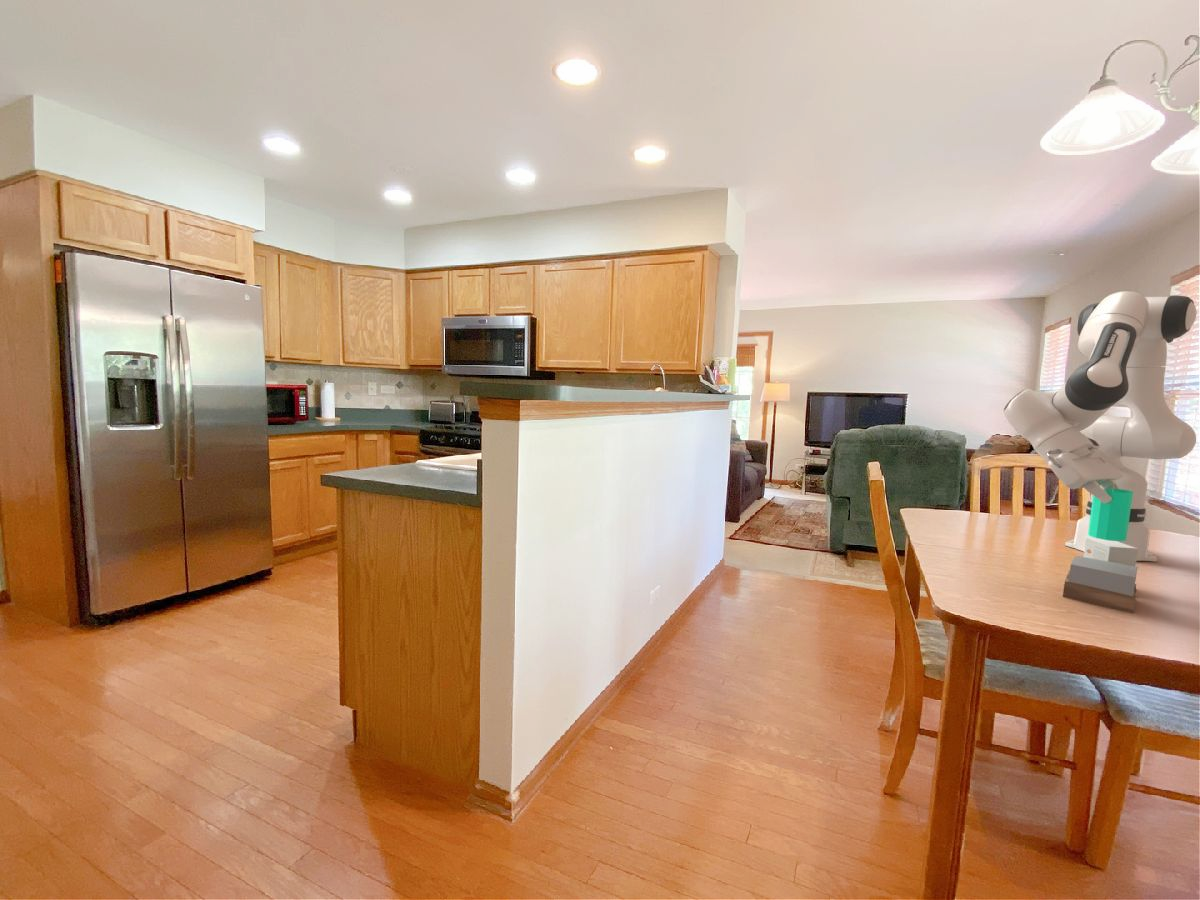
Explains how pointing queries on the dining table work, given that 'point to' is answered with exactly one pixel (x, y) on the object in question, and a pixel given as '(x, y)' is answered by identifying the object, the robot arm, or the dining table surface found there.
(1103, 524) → the candle
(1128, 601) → the tower base
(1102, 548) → the small box
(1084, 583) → the tower top
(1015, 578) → the dining table surface
